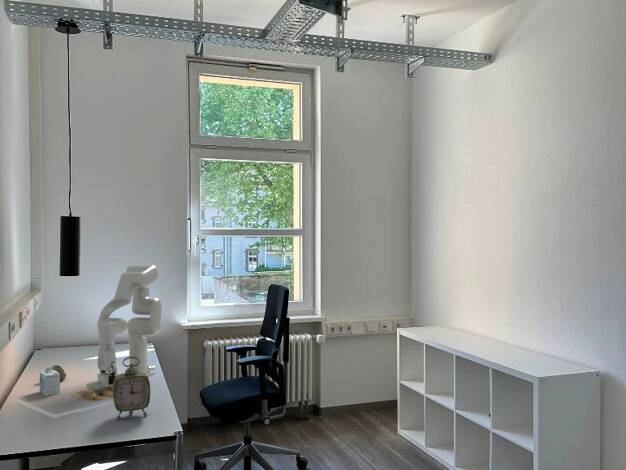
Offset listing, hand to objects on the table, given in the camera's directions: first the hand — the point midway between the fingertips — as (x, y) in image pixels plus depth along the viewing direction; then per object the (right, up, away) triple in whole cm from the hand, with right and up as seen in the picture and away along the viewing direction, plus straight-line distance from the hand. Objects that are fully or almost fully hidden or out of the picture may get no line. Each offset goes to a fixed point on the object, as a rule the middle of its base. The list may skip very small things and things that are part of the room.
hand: (108, 382), depth 277 cm
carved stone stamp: (-35, -5, +19) cm, 40 cm away
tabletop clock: (+24, -4, -40) cm, 47 cm away
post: (+1, -3, -12) cm, 12 cm away
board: (0, -4, -9) cm, 9 cm away
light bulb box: (-26, -5, -6) cm, 27 cm away
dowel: (0, -3, -18) cm, 19 cm away
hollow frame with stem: (-2, -1, -3) cm, 4 cm away
